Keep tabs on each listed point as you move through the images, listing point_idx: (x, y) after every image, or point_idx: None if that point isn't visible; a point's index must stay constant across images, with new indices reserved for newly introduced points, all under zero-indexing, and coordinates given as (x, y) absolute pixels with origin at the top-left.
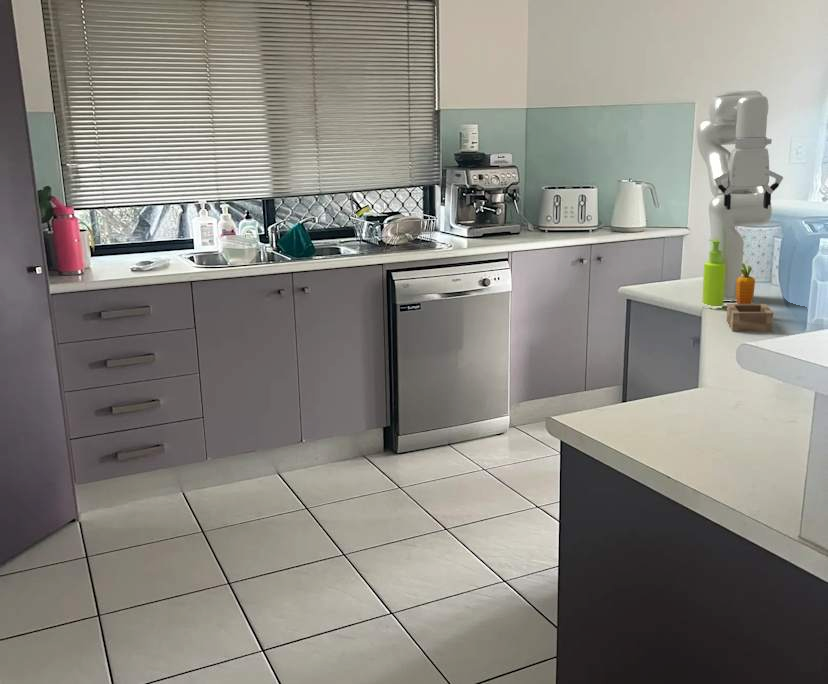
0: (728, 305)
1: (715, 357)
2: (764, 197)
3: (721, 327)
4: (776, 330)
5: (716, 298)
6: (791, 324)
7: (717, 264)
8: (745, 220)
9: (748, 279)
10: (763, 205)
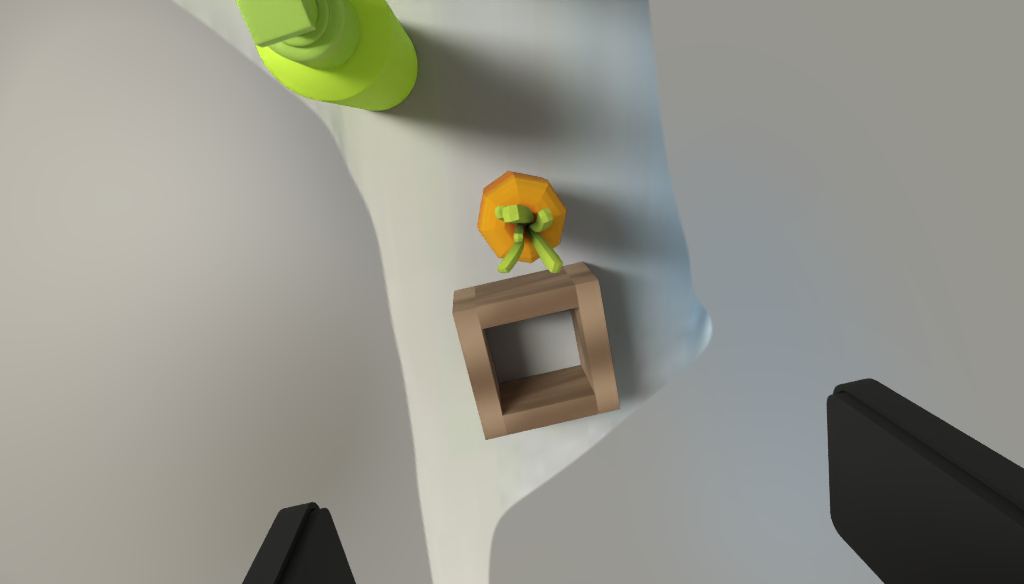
0: (458, 334)
1: None
2: (960, 559)
3: (445, 367)
4: (617, 361)
5: (386, 104)
6: (668, 279)
7: (346, 81)
8: None
9: (537, 254)
10: (845, 423)
